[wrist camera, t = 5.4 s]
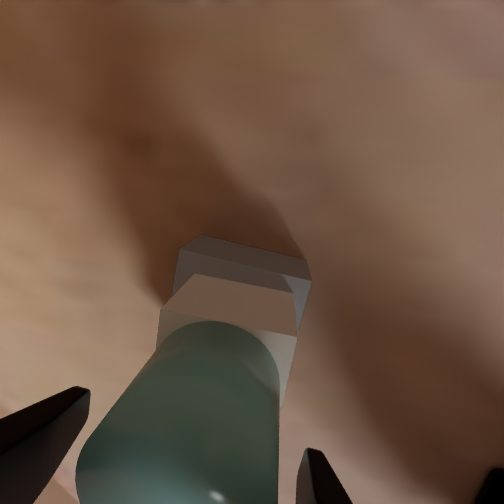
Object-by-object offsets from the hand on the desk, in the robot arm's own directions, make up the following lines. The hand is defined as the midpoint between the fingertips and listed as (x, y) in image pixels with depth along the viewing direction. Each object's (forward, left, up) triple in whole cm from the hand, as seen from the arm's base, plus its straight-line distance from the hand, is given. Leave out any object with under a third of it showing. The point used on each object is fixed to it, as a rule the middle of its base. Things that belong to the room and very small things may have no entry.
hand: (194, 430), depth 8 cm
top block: (0, 0, -6) cm, 6 cm away
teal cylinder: (0, 0, -2) cm, 2 cm away
